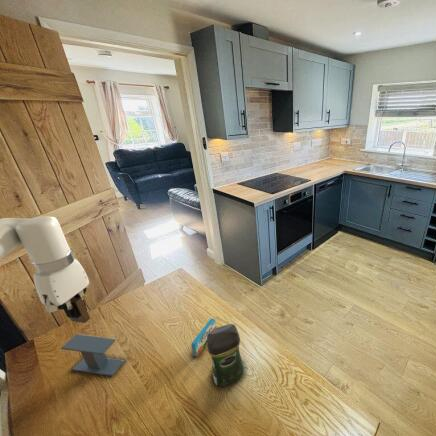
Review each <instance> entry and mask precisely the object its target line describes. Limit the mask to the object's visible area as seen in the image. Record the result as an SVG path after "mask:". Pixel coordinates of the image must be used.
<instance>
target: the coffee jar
mask: <svg viewBox="0 0 436 436" xmlns="http://www.w3.org/2000/svg"><path fill="white" fill-rule="evenodd" d="M240 345H241V336H240V333H239V331H238V328H237V327H236V325H235V324H233V323H227V324H224V325H222V326H219V327H216V329H214V330H212V331H211V332H209V333H208V335H207V344H206V348H207V351H208V354H209V355H210V357H211V371H212V378H213V382H214V384H215V385H216V386H217V387H219V388H222V387H225V386H229V385H231V384H233V383H235V382H236V381H238V380H240V379H241V378H242V377H243V375H244V371H245V370H244V363H243V360H242V356H241V352H240Z"/></svg>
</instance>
